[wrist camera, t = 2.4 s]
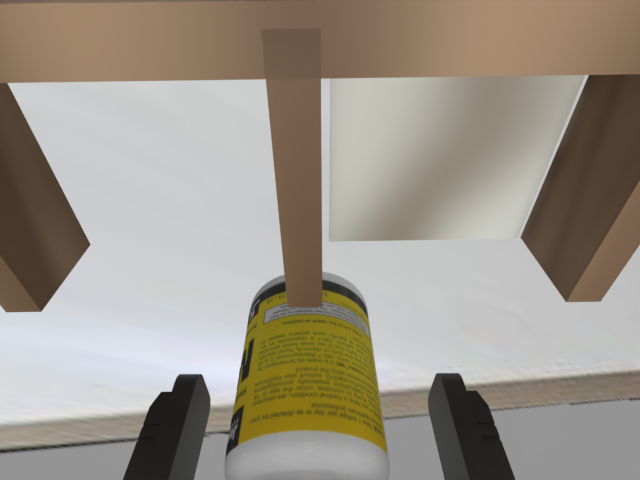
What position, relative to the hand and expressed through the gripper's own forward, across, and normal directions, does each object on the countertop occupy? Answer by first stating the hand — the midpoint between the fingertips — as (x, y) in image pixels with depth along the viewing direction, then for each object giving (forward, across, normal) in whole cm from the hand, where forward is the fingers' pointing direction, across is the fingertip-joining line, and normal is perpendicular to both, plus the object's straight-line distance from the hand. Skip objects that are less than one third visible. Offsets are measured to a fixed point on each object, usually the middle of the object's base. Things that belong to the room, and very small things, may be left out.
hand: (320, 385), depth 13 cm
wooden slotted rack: (+3, 0, +7) cm, 8 cm away
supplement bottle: (+3, 0, 0) cm, 3 cm away
